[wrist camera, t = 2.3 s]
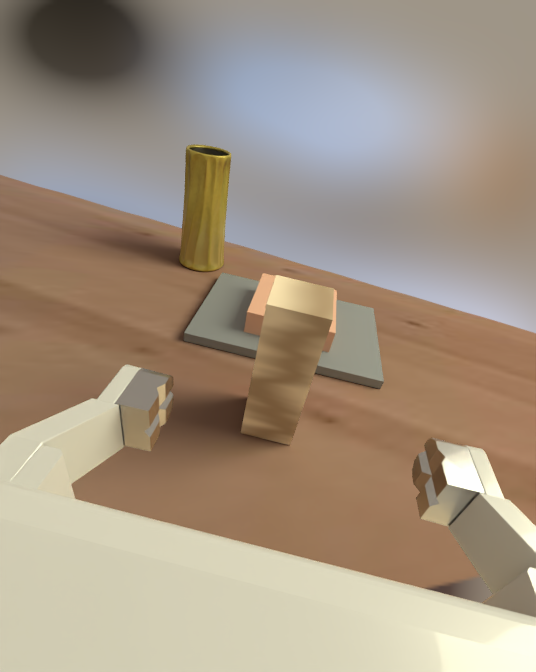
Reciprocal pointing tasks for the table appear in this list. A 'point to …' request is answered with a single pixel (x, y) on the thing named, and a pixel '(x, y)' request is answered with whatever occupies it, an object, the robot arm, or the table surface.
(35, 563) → the robot arm
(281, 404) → the oak post
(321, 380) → the table surface
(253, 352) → the socket board
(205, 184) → the vase
